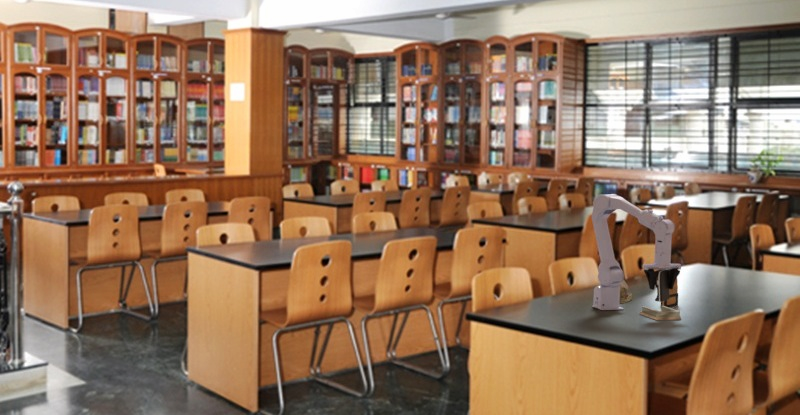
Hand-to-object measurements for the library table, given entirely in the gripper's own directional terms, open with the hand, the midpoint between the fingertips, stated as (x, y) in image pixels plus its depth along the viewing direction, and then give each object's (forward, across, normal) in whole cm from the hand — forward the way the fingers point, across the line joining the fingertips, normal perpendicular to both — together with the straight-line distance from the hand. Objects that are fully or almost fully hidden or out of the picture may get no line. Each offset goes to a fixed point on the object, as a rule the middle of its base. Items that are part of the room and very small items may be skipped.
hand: (661, 289), depth 339 cm
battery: (+4, 0, 0) cm, 5 cm away
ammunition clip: (+11, +15, +18) cm, 26 cm away
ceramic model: (+11, +1, +35) cm, 36 cm away
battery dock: (+10, 0, 0) cm, 10 cm away
